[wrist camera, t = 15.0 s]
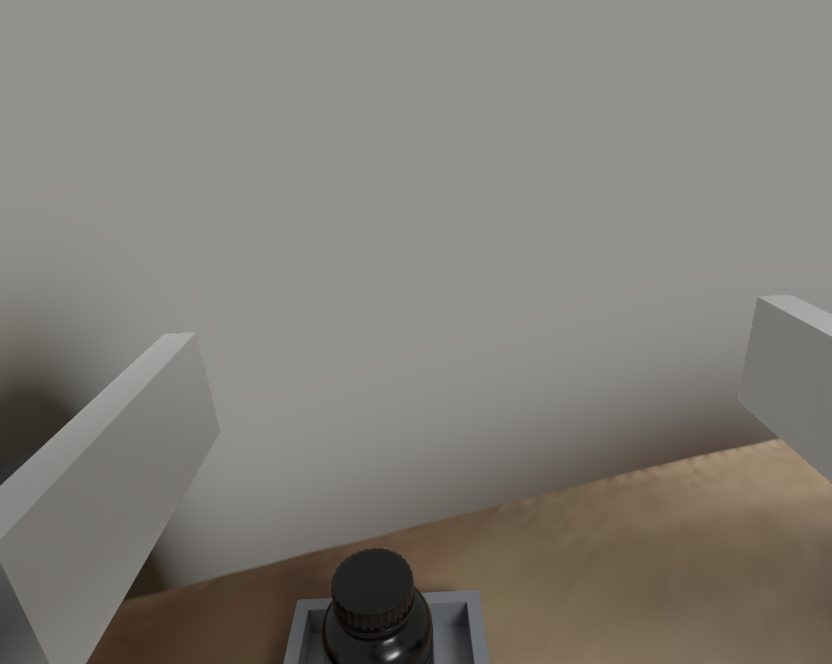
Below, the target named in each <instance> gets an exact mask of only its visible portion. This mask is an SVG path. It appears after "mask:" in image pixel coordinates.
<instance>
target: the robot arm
mask: <svg viewBox="0 0 832 664" xmlns="http://www.w3.org/2000/svg"><path fill="white" fill-rule="evenodd" d="M737 400H738V401H739V402H740V403H741V404H742V405H743V406H744V407H746V408H747V409H748V410H749V411H750V412H751V413H752V414H753V415H755V416H756V417H757V418H758V419H759V420H760V421H761V422H763V423H764V424H765V425H766V426H767V427H768V428H769V429H771V430H772V431H773V432H774V433H775V434H777V436H778V437H780V438H781V439H782V440H783V441H784V442H785V443H786V444H788V445H789V446H790V447H791V448H792V449H793V450H794V451H795V452H797V453H798V454H799V455H800V456H801V457H802V458H803V459H805V460H806V461H807V462H808V463H809V464H810V465H811V466H813V467H814V468H815V469H816V470H817V471H818V472H819V473H820V474H822V475H823V476H824V477H825V478H826V479H827V480H828V481H830V482H831V483H832V315H831V314H829V313H827V312H825V311H823V310H821V309H819V308H817V307H815V306H813V305H811V304H809V303H807V302H805V301H803V300H801V299H798V298H796V297H794V296H792V295H779V296H765V297H758V298H757V303H756V308H755V313H754V318H753V323H752V328H751V333H750V338H749V343H748V349H747V353H746V358H745V363H744V368H743V373H742V378H741V383H740V388H739V394H738V398H737ZM219 433H220V429H219V425H218V421H217V416H216V412H215V408H214V404H213V400H212V396H211V392H210V387H209V383H208V379H207V375H206V371H205V367H204V362H203V358H202V354H201V350H200V347H199V342H198V338H197V333H196V332H193V333H176V334H164V335H163V336H161V338H159V339H158V340H157V341H156V342H155V343H154V344H153V345H152V346H151V347H150V348H149V349H147V350H146V351H145V352H144V353H143V354H142V355H141V356H140V357H139V358H138V359H137V360H136V361H134V362H133V363H132V364H131V365H130V366H129V367H128V368H127V369H126V370H125V371H124V372H123V373H122V374H120V375H119V376H118V377H117V378H116V379H115V380H114V381H113V382H112V383H111V384H110V385H109V386H107V387H106V388H105V389H104V390H103V391H102V392H101V393H100V394H99V395H98V396H97V397H96V398H95V399H93V400H92V401H91V402H90V403H89V404H88V405H87V406H86V407H85V408H84V409H83V410H81V411H80V412H79V413H78V414H77V415H76V416H75V417H74V418H73V419H72V420H71V421H70V422H69V423H68V424H66V425H65V426H64V427H63V428H62V429H61V430H60V431H59V432H58V433H57V434H56V435H54V437H52V438H51V439H50V440H49V441H48V442H47V443H46V444H45V445H44V446H43V447H38V448H37V449H35V450H33V451H31V452H30V453H28V454H26V455H25V456H23V457H21V458H19V459H18V460H16V461H14V462H13V463H11V464H9V465H8V466H7V467H5V468H4V469H3V470H2V471H1V472H0V664H86V663H87V661H88V659H89V657H90V656H91V654H92V652H93V651H94V649H95V647H96V645H97V644H98V642H99V640H100V638H101V637H102V635H103V633H104V632H105V630H106V628H107V626H108V625H109V623H110V621H111V620H112V618H113V616H114V614H115V613H116V611H117V609H118V607H119V606H120V604H121V602H122V601H123V599H124V597H125V595H126V594H127V592H128V590H129V588H130V587H131V585H132V583H133V581H134V580H135V578H136V576H137V574H138V573H139V571H140V569H141V568H142V566H143V564H144V563H145V560H146V559H147V557H148V556H149V554H150V552H151V550H152V549H153V547H154V545H155V544H156V542H157V540H158V538H159V537H160V535H161V533H162V531H163V530H164V528H165V526H166V525H167V523H168V521H169V519H170V518H171V516H172V514H173V512H174V511H175V509H176V507H177V506H178V504H179V502H180V500H181V499H182V497H183V495H184V493H185V492H186V490H187V488H188V487H189V485H190V483H191V481H192V479H193V478H194V476H195V474H196V472H197V471H198V469H199V467H200V466H201V464H202V462H203V461H204V459H205V457H206V455H207V454H208V452H209V450H210V449H211V447H212V445H213V443H214V441H215V440H216V438H217V436H218V435H219Z"/></svg>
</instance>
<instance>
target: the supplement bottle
mask: <svg viewBox="0 0 832 664" xmlns="http://www.w3.org/2000/svg"><path fill="white" fill-rule="evenodd" d="M331 585H332V588H331V593H332V601H331V603H330V604H329V606H328V608H327V610H326V612H325V614H324V617H323V621H322V626H321V642H322V650H323V656H324V661H325V664H435V660H434V639H433V623H432V615H431V611H430V608H429V605H428V603H427V601H426V599H425V598H424V596H423V595H422V594H421V592H420V591H419V590H418V589H417V588H416V587H415V586H414V581H413V574H412V571H411V569H410V565H409V564H407V562H406V560H405V559H403V558H402V556H401V555H398V554H397V553H396V552H392V551H390V550H388V549H386V550H384V549H382V548H380V549H376V548H373V549H366V550H364V551H359V552H357V553H355V554H352V555H351V556H350V557H348V558H346V559H345V561H344V562H342V563H341V564H340V566H339V567H338V568H337V569H336V572H335V574H334V575H333V580H332V582H331Z"/></svg>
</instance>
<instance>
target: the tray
mask: <svg viewBox="0 0 832 664" xmlns="http://www.w3.org/2000/svg"><path fill="white" fill-rule="evenodd" d="M421 594H422V595H423V596H424V598H425V599H426V601H427V603H428V605H429V608H430V611H431V615H432V623H433V639H434V660H435V664H490V663H489V656H488V650H487V643H486V636H485V630H484V623H483V616H482V610H481V603H480V597H479V590H464V591H446V592H428V593H421ZM331 601H332V598H319V599H300V600H297V604H296V609H295V613H294V618H293V622H292V627H291V631H290V636H289V640H288V645H287V649H286V653H285V658H284V662H283V664H325V661H324V656H323V650H322V642H321V626H322V621H323V617H324V614H325V612H326V610H327V608H328V606H329V604H330V603H331Z"/></svg>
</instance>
